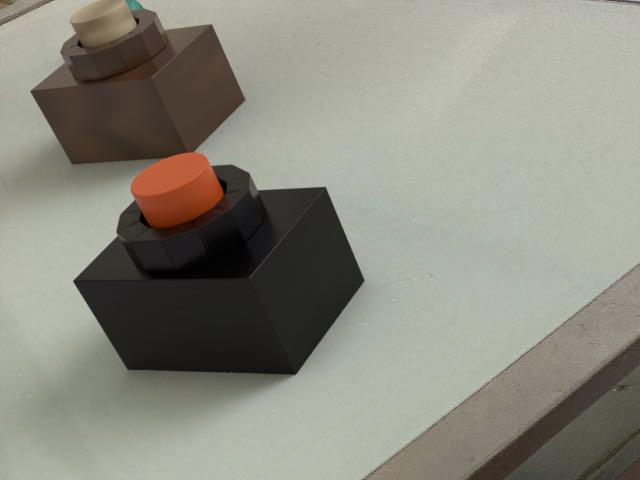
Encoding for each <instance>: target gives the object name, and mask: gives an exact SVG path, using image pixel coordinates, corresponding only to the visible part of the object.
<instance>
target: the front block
mask: <svg viewBox="0 0 640 480" xmlns="http://www.w3.org/2000/svg"><path fill="white" fill-rule="evenodd" d="M211 167H212V169H213V171H214V173H215V175H216V177H217V179H218V181H219V183H220V185H221V187H222V189H223V192H224V196H223V197H222V198H221V200H220V201H219V202H218V203H217V204H216V205H215V206H214V207H213V208H211V209H210V210H208V211H206V212H205V213H203V214H201V215H199V216H198V217H196V218H194V219H193V220H191V221H188V222H185V223H181V224H178V225H175V226H172V227H167V228H151V227H150V226H149V224H148V222H147V221H146V219H145V217H144V215H143V213H142V211H141V210H140V208H139V206H138V204H137V202H136V200H135V199H134V200H133V201H132V202H131V203H130V204H129V205H128V206H126V208H125V209H124V210H123V211H122V212H121V213H120V214H119V217H118V221H117V226H116V230H115V232H116V233H115V234H116V235H117V236H116V237H115V238H114V239H113V240H112V241H111V242H110V243H108V245H107V246H106V247H105V248H104V249H102V250H101V252H100V253H99V254H98V255H97V256H96V257H95V258H94V259H93V260H92V261H90V263H89V264H88V265H87V266H86V267H85V268H83V270H82V271H81V272H80V273H79V274H78V275H77V276H76V277H75V278H74V279H73V280H72V283H73V285H74V286H75V287H76V289H77V291H78V292H79V294H80V295H81V297H82V299H83V300H84V302H85V303H86V306H87V307H88V308H89V310H90V312H91V313H92V315H93V316H94V318H95V320H96V322H97V323H98V325H99V326H100V328H101V329H102V331H103V332H104V335H105V336H106V338H107V339H108V340H109V342H110V344H111V346H112V347H113V348H114V350H115V352H116V353H117V355H118V357H119V358H120V360H121V361H122V363H123V365H124V366H125V368H126V370H128V371H154V370H155V371H159V372H191V373H192V372H193V373H222V372H225V374H255V375H257V374H258V375H259V374H260V375H291V376H292V375H294V376H295V375H298V373H299V372H300V370H301V369H302V367H303V366H304V365H305V363H306V362H307V361H308V359H309V358H310V357H311V355H312V354H313V352H314V351H315V350H316V348H317V347H318V346H319V345H320V343H321V341H322V340H323V339H324V337H325V336H326V334H327V333H328V332H329V330H330V329H331V328H332V327H333V325H334V324H335V322H336V321H337V319H338V318H339V317H340V316H341V314H342V313H343V311H344V310H345V309H346V307H347V306H348V305H349V303H350V302H351V300H352V299H353V298H354V296H355V295H356V293H357V292H358V291H359V289H360V288H361V287H362V285H363V284H364V282H365V277H364V275H363V272H362V270H361V269H360V266H359V263H358V261H357V258H356V256H355V253H354V251H353V248H352V246H351V244H350V242H349V239H348V237H347V234H346V232H345V229H344V227H343V225H342V222H341V220H340V218H339V214H338V213H337V210H336V208H335V206H334V203H333V200H332V198H331V195H330V193H329V190H328V189H327V187H326V186H311V187H293V188H273V189H258V188H257V186H256V184H255V181H254V179H253V177H252V175H251V173H250V172H248V171H246V170H245V169H244V168H243V169H242V168H241V167H238V166H237V165H234V164H231V163H230V164H218V165H217V164H216V165H215V164H214V165H211ZM229 372H230V373H229ZM231 372H232V373H231Z"/></svg>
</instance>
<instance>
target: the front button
mask: <svg viewBox="0 0 640 480" xmlns="http://www.w3.org/2000/svg"><path fill="white" fill-rule="evenodd" d="M211 166H212V165H211V162H210V160H209V159H208V157H207V156H206V155H205V154H204V153H200V152H195V151H194V152H193V153H183V154H178V155H175V156H171V157H168V158H162V159H160V160H159V161H157V162H155V163H153V164H151V165H150V166H148V167H146V168H145V169H143V170H142V171H141V172H140V173H138V174H137V175H136V176H135V178H134V179H133V180H132V182H131V183H130V187H129V189H130V193H131V194H132V197H133V199H134V200H136V202H137V204H138V206H139V208H140V210H141V211H142V213H143V215H144V217H145V219H146V221H147V222H148V224H149V226H150V227H151V228H167V227H172V226H175V225H178V224H181V223H185V222H188V221H191V220H193V219H194V218H196V217H198V216H199V215H201V214H203V213H205V212H206V211H208V210H210V209H211V208H213V207H214V206H215V205H216V204H217V203H218V202H219V201H220V200H221V198H222V197H223V196H224V192H223V189H222V187H221V185H220V183H219V181H218V179H217V177H216V175H215V173H214V171H213V169H212V167H211Z"/></svg>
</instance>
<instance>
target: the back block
mask: <svg viewBox="0 0 640 480" xmlns="http://www.w3.org/2000/svg"><path fill="white" fill-rule="evenodd" d="M131 13H132V15H133V17H134V19H135V22H136V24H137V26H136V27H135V28H134V29H133V30H132V31H130V32H129V33H127V34H126V35H124V36H122V37H120V38H118V39H116V40H114V41H111V42H108V43H105V44H102V45H99V46H96V47H88V48H83V46H82V44H81V42H80V40H79V39H78V37H77V35H76V33H74V34H73V35H71V37H69V38H68V39H67V40H65V41H64V42H63V44H62V46H61V48H60V50H59V51H60V52H59V54H60V55H61V57H62V59H63V61H64V63H63V64H61V65H60V66H59V67H58V68H57V69H55V70H54V71H53V72H51V73H50V74H49V75H48V76H47V77H46V78H44V79H43V80H42V81H40V82H39V83H38V84H36V85H35V86H34V87H33V88H32V89H30V91H29V92H30V94H31V96H32V97H33V99H34V101H35V103H36V104H37V106H38V108H39V110H40V111H41V113H42V115H43V117H44V119H45V120H46V122H47V124H48V125H49V128H50V129H51V130H52V132H53V134H54V136H55V137H56V139H57V141H58V142H59V145H60V146H61V148H62V150H63V152H64V153H65V155H66V157H67V158H68V160H69V161H70V164H71V165H83V164H84V165H85V164H98V163H99V164H100V163H114V162H128V161H129V162H130V161H144V160H159V159H160V160H161V159H166V158H168V157H171V156H175V155H178V154H183V153H193V152H194V153H195V151H197V150H198V149H199V148H200V146H202V145H203V143H204V142H206V140H207V139H209V137H210V136H212V134H214V132H215V131H216V130H218V128H220V127H221V125H222V124H224V122H225V121H227V119H228V118H230V117H231V116H232V115H233V114H234V112H236V111H237V109H239V107H240V106H241V105H243V103H245V102H246V98H245V95H244V93H243V91H242V89H241V87H240V84H239V82H238V79H237V78H236V75H235V73H234V71H233V68H232V66H231V64H230V61H229V59H228V57H227V55H226V52H225V50H224V48H223V46H222V43H221V41H220V39H219V36H218V35H217V32H216V30H215V28H214V25H213V24H212V23H209V24H201V25H193V26H185V27H184V26H183V27H177V28H169V29H165V28H164V26H163V24H162V21H161V19H160V17H159V16H158V13H157V12H156V11H153V10H150V9H148V8H144V9H139V10H132V11H131Z"/></svg>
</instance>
